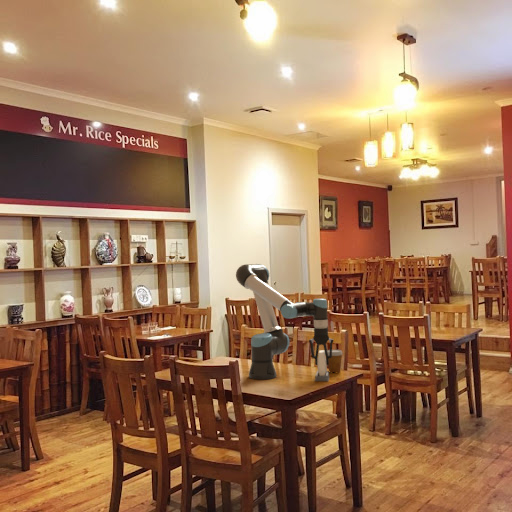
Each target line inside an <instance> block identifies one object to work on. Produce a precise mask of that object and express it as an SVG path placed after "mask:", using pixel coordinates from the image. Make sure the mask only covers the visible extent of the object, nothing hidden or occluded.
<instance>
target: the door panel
mask: <svg viewBox="0 0 512 512" xmlns="http://www.w3.org/2000/svg"><path fill="white" fill-rule="evenodd" d="M325 359H326V355H325V350H324V349H322V350H320V349H319V351H318V364H319V376H325V373H326V372H325Z"/></svg>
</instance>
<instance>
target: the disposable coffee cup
mask: <svg viewBox="0 0 512 512" xmlns="http://www.w3.org/2000/svg"><path fill="white" fill-rule="evenodd" d="M327 352H328V356H329V354H330V349H327ZM342 357H343V351H342V350H341V349H332V357H331V358H329V364H328V365H327V369H328V371H330V372H339V373H341V367H342ZM330 372H329V373H330Z"/></svg>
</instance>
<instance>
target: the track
mask: <svg viewBox="0 0 512 512" xmlns="http://www.w3.org/2000/svg"><path fill="white" fill-rule="evenodd" d="M329 375H330V372H329V370H327V372H326V373H325V376H319V371H318V370H316V372H315V376H314V382H329V380H330V376H329Z"/></svg>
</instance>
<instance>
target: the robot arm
mask: <svg viewBox="0 0 512 512" xmlns="http://www.w3.org/2000/svg"><path fill="white" fill-rule="evenodd" d="M269 278H270V271H269V269H268V268H267V267H266V266H265V265H263V264H261V263H259V264H258V263H255V264H253V263H252V264H247V263H246V264H242V265H240V266H239V267H238V268H237V270H236V273H235V279H236V281H237V283H239V285H240V286H242V287H243V288H245V289H247V290H250V291H252V292H253V296H254V299H255V303H256V306H257V310H258V314H259V317H260V320H261V321H260V322H261V323H262V327H263V330H264V331H263V333H262V332H261V333H256V334H254V335H252V336H251V339H250V341H251V342H250V348H251V349H250V350H251V365H250V368H249V371H248V378H249V379H253V380H270V379H275V378H277V371H276V369H275V366H274V361H273V359H274V358H273V356H276V355H280V354H283V353H285V352H287V350H288V349H289V347H290V338H289V335H288V334H286V333H285V332H284V331H283V328H282V327H280V325H279V324H278V323H279V322H278V320H277V316H276V313H275V310H274V308H275V309H277V310H278V311H280V314H281V315H282V317H283V318H284V319H294V318H295V319H296V318H301V317H313V327H314V328H313V338H311V339H309V340H308V343H309V344H310V353H311V358H312V359H314V360H315V361H314V362H315V365H316V366H317V371H319V364H318V355H319V351H320V346H323V350H325V372H327V371H328V370H327V369H328V364H329V358H331V357H332V350H333V344H334V340H335V339H334V338H330V336H329V327H328V326H329V325H328V324H329V321H328V308H329V307H328V300H327V299H326V298H314V299H313V300H312V302H306V301H299V302H298V301H297V302H295V303H293V301H291V300H290V299H288V298H286V297H285V295H284V296H283V295H282V294H281V293H279V292H278V291H276V290H275V289H274V288H272V287H271V286H269ZM328 341H329V350H330V354H329V356H328V352H327V350H328V349H327V348H328V347H327V343H328ZM314 343H316V349H315V351H314Z"/></svg>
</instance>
